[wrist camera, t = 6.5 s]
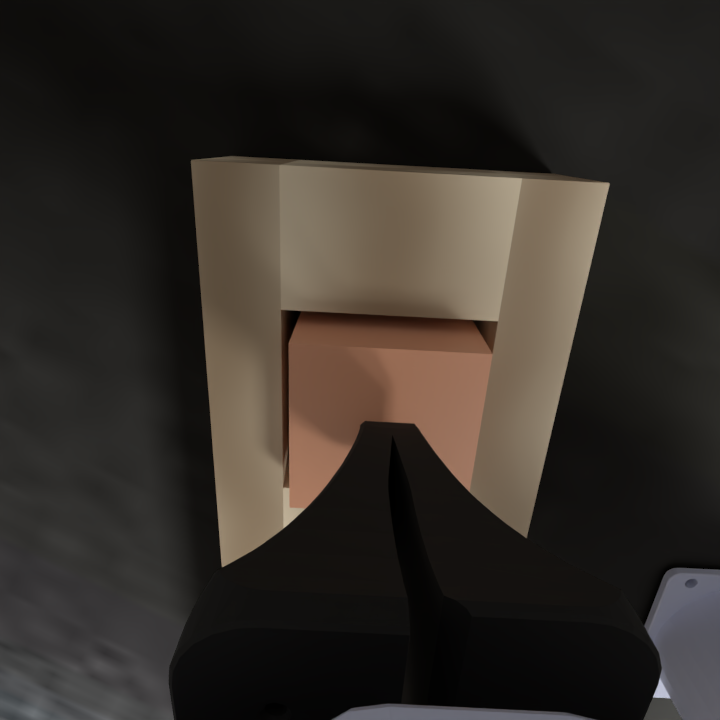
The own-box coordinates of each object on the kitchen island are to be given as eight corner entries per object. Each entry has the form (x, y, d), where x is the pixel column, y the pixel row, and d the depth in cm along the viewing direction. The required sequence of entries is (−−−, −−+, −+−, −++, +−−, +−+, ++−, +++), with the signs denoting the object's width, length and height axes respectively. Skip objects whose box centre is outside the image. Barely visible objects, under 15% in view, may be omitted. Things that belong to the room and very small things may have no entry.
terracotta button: (469, 315, 15) (492, 354, 12) (449, 455, 17) (465, 516, 14) (303, 306, 15) (288, 343, 12) (302, 448, 17) (289, 507, 14)
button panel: (552, 173, 16) (609, 183, 12) (458, 670, 25) (474, 761, 21) (232, 156, 16) (191, 159, 12) (255, 660, 25) (235, 750, 21)
